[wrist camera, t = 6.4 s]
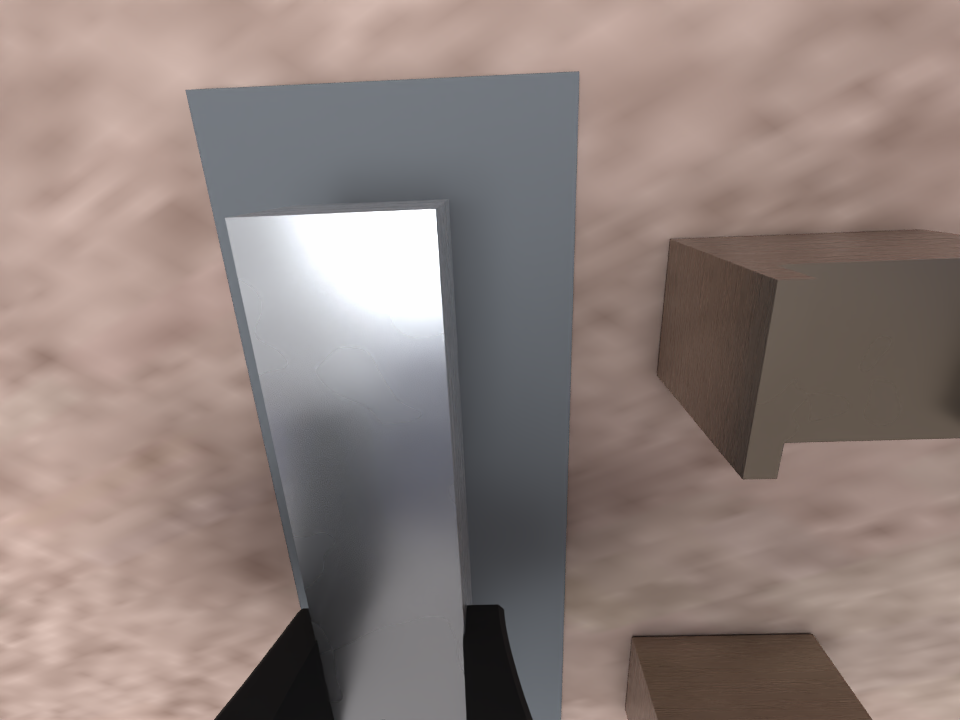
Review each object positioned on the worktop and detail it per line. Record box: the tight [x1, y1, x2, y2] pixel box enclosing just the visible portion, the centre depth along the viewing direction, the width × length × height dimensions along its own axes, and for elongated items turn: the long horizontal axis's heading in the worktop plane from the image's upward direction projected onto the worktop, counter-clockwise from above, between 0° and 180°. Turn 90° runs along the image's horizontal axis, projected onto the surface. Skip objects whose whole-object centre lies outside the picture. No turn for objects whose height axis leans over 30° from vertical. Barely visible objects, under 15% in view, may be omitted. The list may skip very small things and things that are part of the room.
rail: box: [225, 199, 473, 720], centre depth 10 cm, size 2×16×2 cm, turn 2°
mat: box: [186, 72, 579, 720], centre depth 13 cm, size 7×20×1 cm, turn 2°
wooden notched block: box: [657, 230, 960, 479], centre depth 9 cm, size 5×3×4 cm, turn 92°
